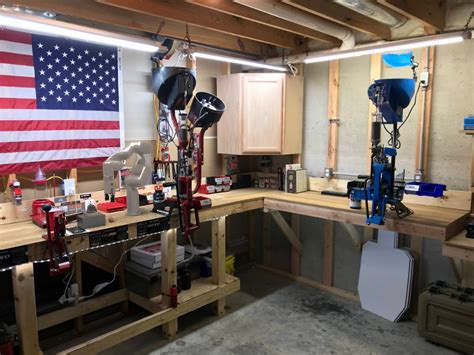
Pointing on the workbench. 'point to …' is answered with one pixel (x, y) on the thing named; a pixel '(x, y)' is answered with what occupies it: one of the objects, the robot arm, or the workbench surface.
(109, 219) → the bead
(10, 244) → the workbench surface
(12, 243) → the workbench surface
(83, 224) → the block
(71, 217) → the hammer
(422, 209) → the workbench surface
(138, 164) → the robot arm
